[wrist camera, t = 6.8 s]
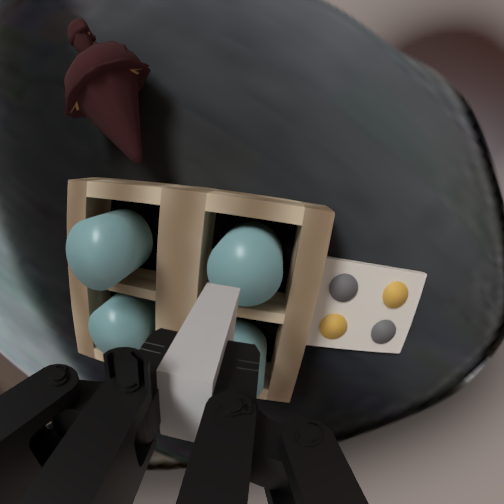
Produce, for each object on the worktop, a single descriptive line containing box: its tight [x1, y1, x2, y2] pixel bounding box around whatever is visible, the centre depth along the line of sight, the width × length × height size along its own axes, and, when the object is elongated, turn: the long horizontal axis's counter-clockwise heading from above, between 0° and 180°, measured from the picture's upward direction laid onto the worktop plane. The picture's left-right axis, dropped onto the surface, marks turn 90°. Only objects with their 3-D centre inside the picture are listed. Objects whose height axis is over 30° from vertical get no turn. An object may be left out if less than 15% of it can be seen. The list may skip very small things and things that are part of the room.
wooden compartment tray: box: [67, 177, 335, 403], centre depth 24 cm, size 20×16×4 cm
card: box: [306, 256, 427, 353], centre depth 24 cm, size 10×8×1 cm
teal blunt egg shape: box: [66, 209, 153, 291], centre depth 20 cm, size 5×5×5 cm
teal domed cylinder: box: [233, 319, 267, 398], centre depth 21 cm, size 5×5×5 cm
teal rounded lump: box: [88, 292, 156, 353], centre depth 24 cm, size 5×5×5 cm
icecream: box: [64, 18, 150, 164], centre depth 19 cm, size 7×7×15 cm
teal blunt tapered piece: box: [207, 222, 283, 307], centre depth 21 cm, size 5×5×5 cm
